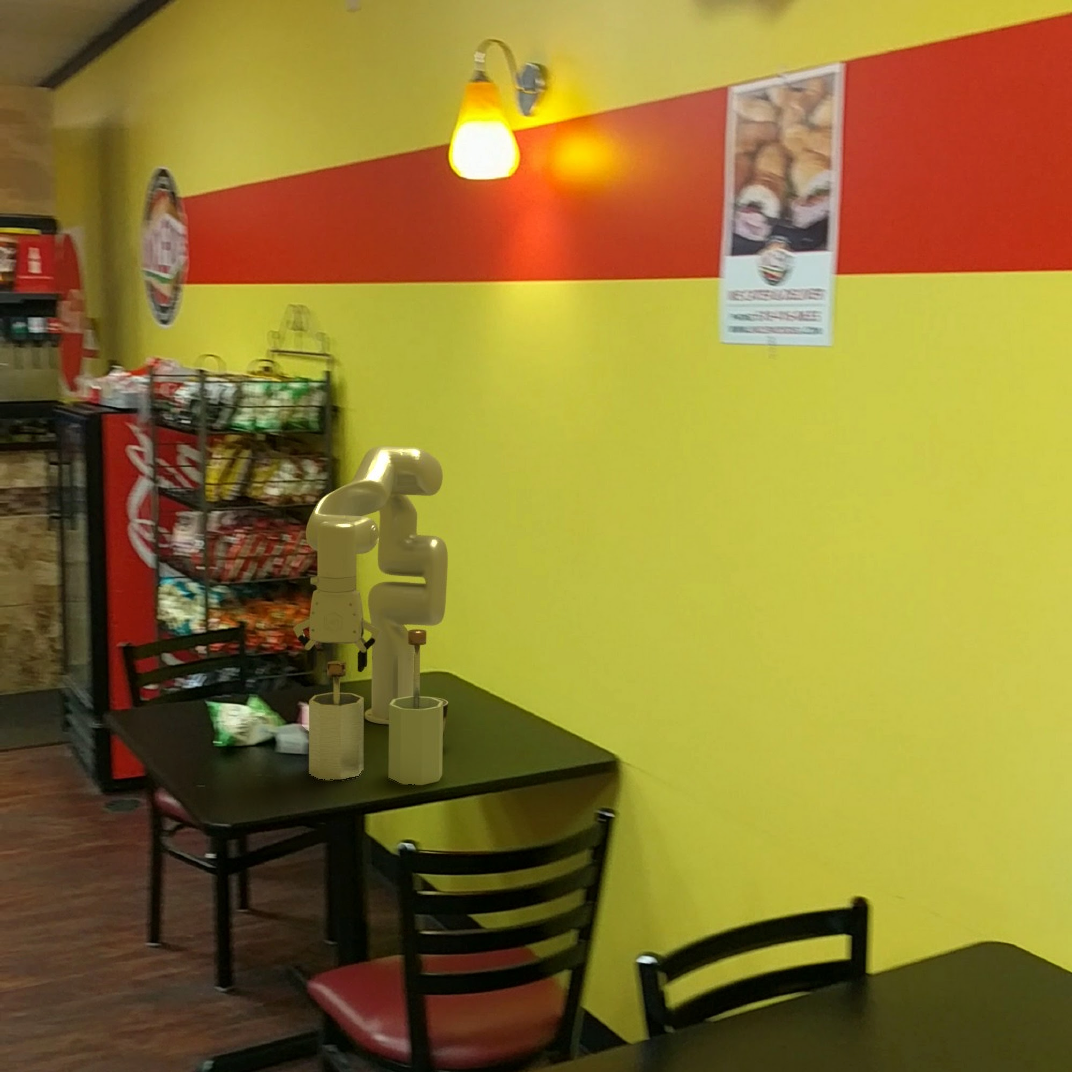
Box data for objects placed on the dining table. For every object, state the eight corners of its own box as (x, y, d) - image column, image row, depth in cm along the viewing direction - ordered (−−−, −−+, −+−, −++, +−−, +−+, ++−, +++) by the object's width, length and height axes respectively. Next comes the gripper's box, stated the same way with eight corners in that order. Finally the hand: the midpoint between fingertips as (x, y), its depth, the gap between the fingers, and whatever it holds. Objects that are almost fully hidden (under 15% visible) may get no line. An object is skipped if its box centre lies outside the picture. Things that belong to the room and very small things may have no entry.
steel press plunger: (322, 740, 266) (322, 657, 264) (359, 742, 265) (359, 659, 263) (312, 751, 258) (312, 666, 256) (350, 753, 258) (351, 668, 255)
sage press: (395, 767, 267) (396, 695, 264) (444, 770, 266) (445, 697, 264) (385, 783, 257) (386, 708, 255) (436, 786, 256) (437, 710, 254)
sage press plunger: (400, 709, 264) (401, 626, 261) (438, 711, 263) (439, 628, 261) (393, 720, 256) (394, 634, 254) (431, 722, 255) (433, 636, 253)
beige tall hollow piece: (318, 763, 268) (318, 691, 266) (366, 765, 267) (367, 694, 265) (305, 779, 258) (305, 704, 256) (355, 781, 257) (355, 707, 255)
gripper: (288, 586, 255) (289, 672, 257) (376, 589, 253) (376, 676, 256) (298, 579, 262) (299, 662, 264) (384, 582, 260) (384, 666, 263)
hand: (337, 669), depth 260 cm, fingers open, 9 cm apart
